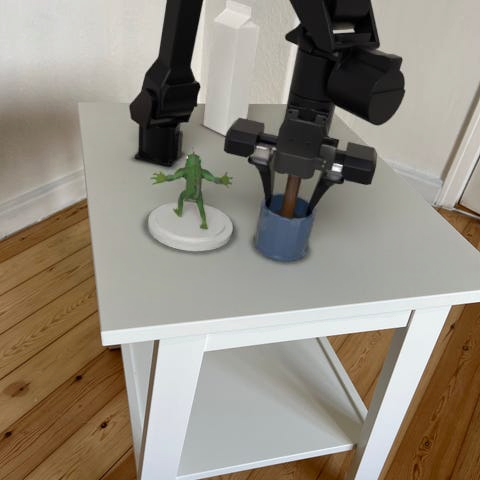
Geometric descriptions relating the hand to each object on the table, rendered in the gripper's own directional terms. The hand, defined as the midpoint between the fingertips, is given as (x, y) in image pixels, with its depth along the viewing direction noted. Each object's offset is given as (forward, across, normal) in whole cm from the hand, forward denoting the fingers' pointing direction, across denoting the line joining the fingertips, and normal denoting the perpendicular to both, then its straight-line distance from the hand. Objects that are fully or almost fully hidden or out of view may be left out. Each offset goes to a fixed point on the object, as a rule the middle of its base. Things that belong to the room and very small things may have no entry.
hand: (288, 210), depth 75 cm
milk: (+6, -18, +38) cm, 43 cm away
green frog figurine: (+6, -13, -1) cm, 14 cm away
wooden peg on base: (+5, 0, 0) cm, 5 cm away
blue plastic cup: (+6, 0, 0) cm, 6 cm away
